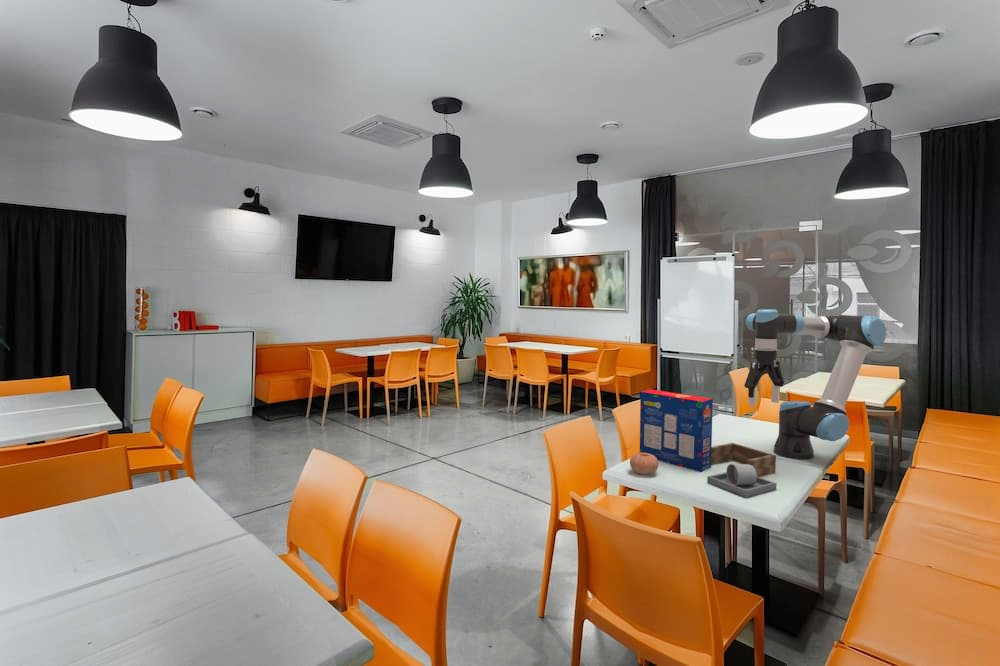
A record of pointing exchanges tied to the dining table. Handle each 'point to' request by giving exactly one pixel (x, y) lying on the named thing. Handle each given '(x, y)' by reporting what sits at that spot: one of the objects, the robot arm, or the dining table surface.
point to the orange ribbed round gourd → (644, 463)
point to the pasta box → (676, 428)
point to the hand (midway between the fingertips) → (763, 404)
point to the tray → (742, 486)
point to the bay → (744, 457)
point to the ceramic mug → (741, 474)
